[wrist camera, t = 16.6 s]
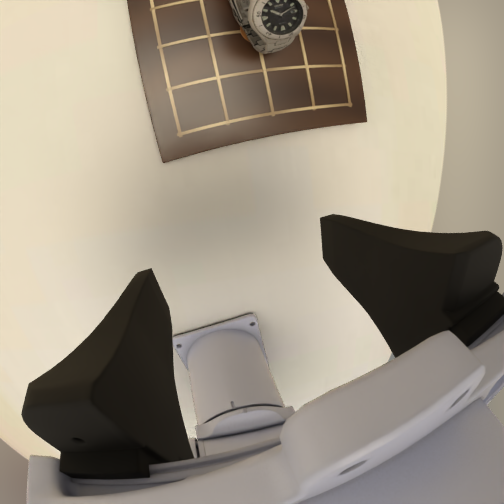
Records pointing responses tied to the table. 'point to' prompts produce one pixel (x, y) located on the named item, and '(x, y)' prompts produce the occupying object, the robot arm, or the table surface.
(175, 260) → the table surface
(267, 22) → the wristwatch
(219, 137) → the board
